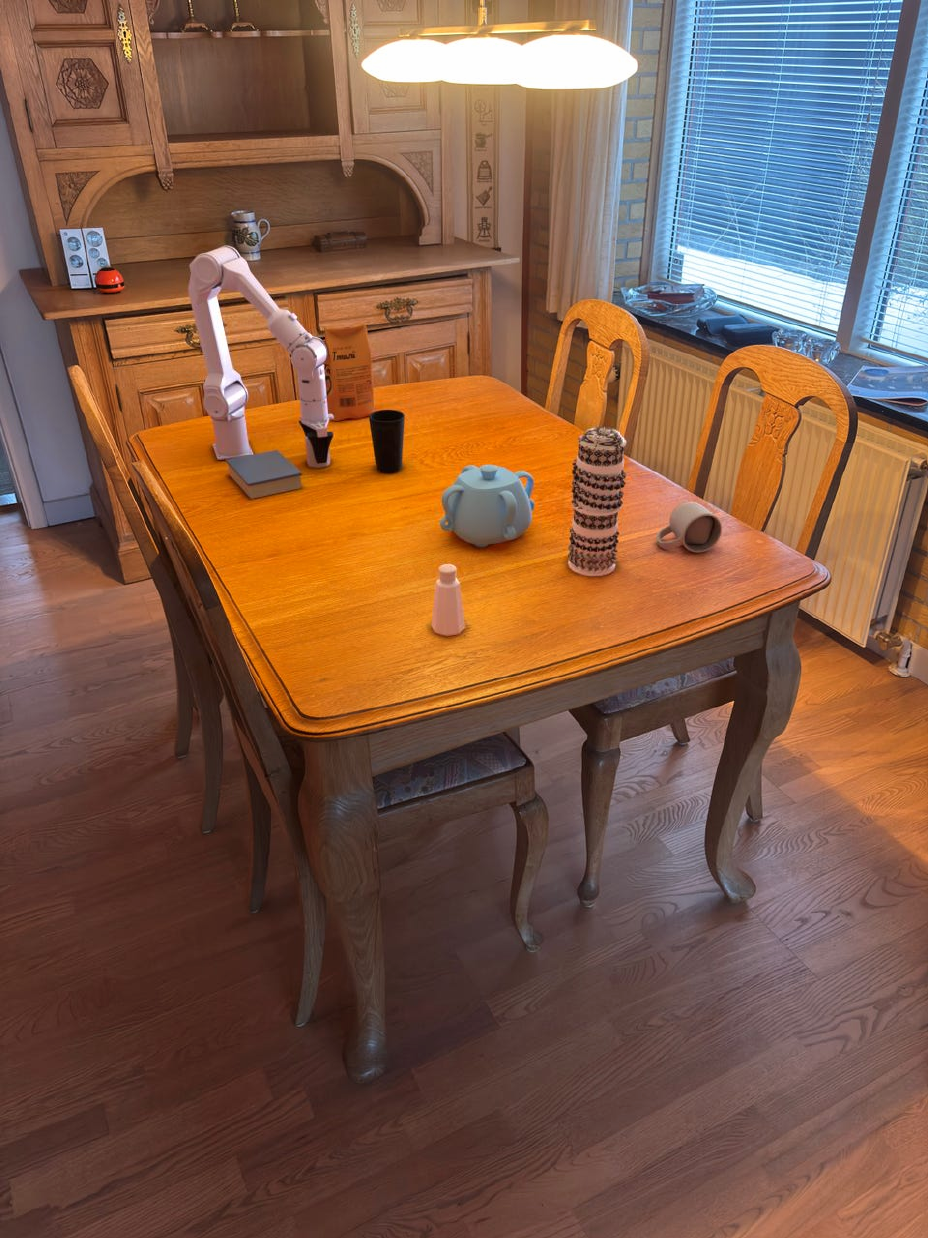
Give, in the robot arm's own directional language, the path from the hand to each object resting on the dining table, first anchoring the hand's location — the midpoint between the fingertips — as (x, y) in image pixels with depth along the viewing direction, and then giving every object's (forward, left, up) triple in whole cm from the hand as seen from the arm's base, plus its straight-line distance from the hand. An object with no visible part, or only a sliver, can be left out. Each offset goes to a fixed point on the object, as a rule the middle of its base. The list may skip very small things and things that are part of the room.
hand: (318, 456), depth 206 cm
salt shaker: (+74, +5, -2) cm, 74 cm away
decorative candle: (+63, +36, -2) cm, 73 cm away
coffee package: (-29, +14, -2) cm, 32 cm away
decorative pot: (+45, +23, -2) cm, 51 cm away
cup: (+8, +14, -2) cm, 16 cm away
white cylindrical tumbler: (0, 0, -2) cm, 2 cm away
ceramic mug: (+62, +56, -2) cm, 84 cm away
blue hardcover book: (+6, -13, -2) cm, 14 cm away
